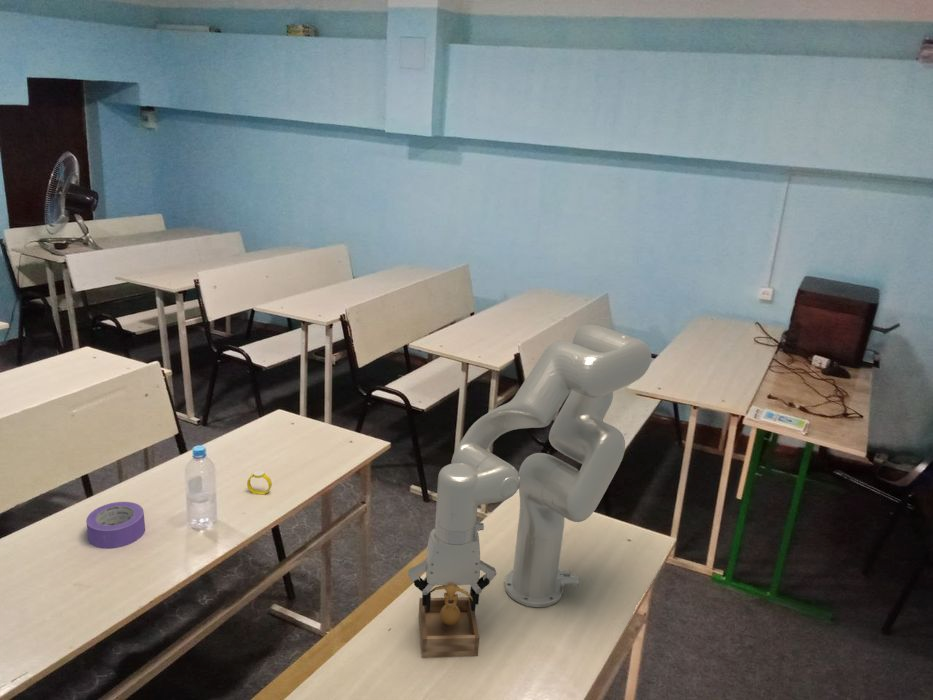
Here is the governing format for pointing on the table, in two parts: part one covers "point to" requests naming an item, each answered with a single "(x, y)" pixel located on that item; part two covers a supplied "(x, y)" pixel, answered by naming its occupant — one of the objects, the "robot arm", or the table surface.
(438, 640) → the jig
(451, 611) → the figurine
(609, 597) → the table surface
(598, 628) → the table surface
